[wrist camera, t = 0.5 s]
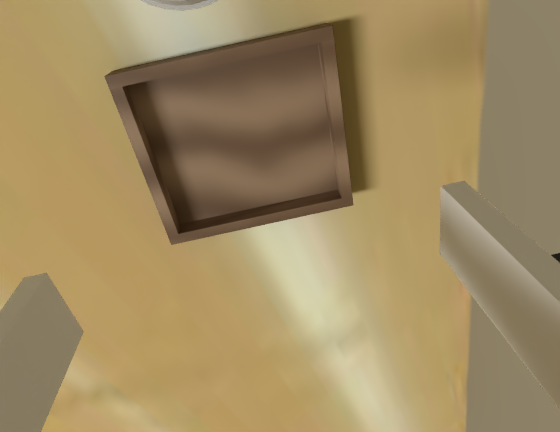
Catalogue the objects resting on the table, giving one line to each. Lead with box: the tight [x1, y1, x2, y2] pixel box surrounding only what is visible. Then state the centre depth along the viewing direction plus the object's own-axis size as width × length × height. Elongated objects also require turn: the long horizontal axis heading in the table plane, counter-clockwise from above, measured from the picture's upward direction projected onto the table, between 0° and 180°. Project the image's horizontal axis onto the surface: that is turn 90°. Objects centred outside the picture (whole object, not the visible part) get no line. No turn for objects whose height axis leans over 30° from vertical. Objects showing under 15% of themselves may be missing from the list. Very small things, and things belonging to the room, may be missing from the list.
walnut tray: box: [105, 24, 353, 245], centre depth 36 cm, size 16×18×2 cm
